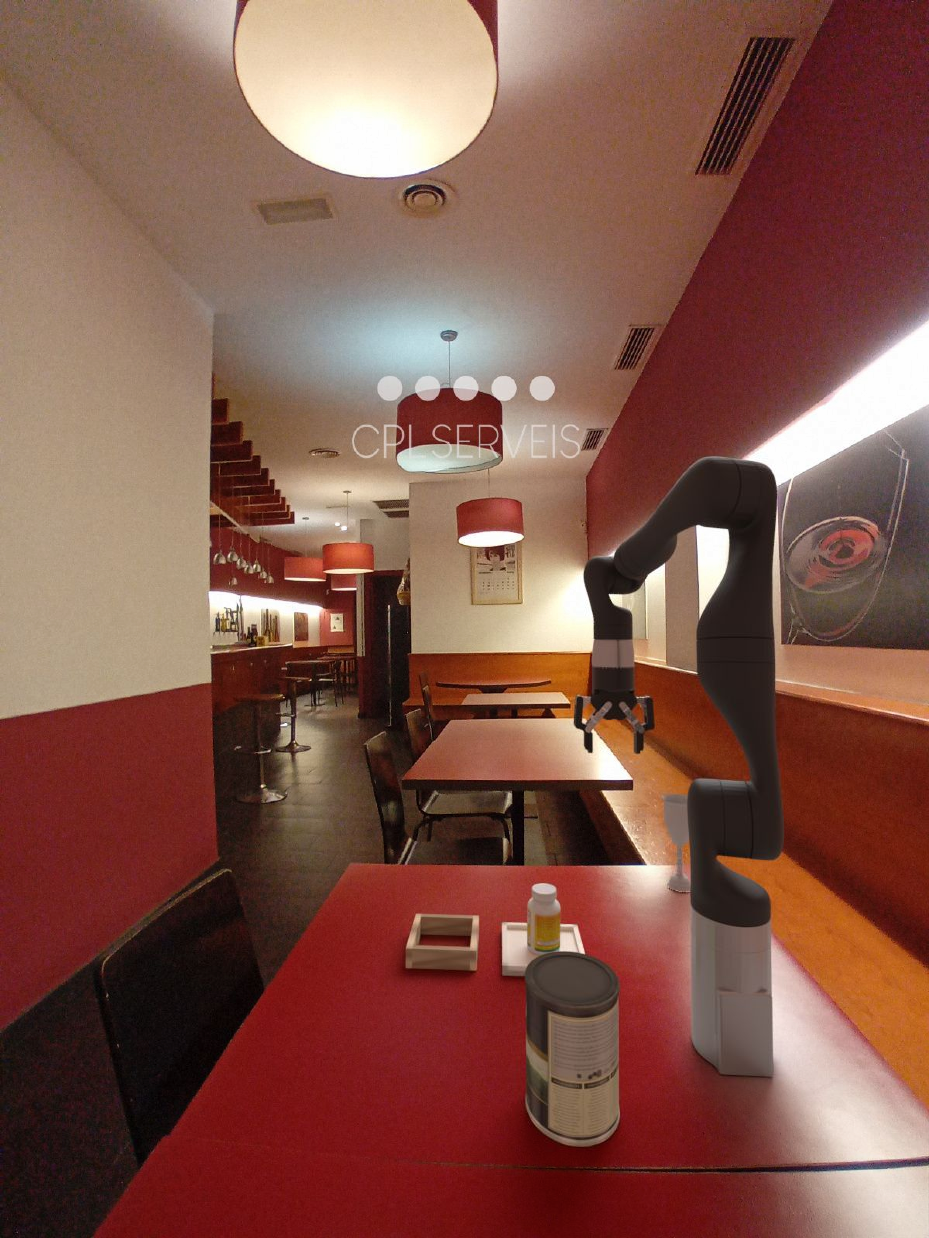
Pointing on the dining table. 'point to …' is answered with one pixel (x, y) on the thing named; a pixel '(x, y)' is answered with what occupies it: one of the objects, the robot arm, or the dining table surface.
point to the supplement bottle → (543, 920)
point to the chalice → (677, 835)
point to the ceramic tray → (520, 955)
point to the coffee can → (572, 1047)
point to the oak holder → (443, 954)
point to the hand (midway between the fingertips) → (613, 752)
